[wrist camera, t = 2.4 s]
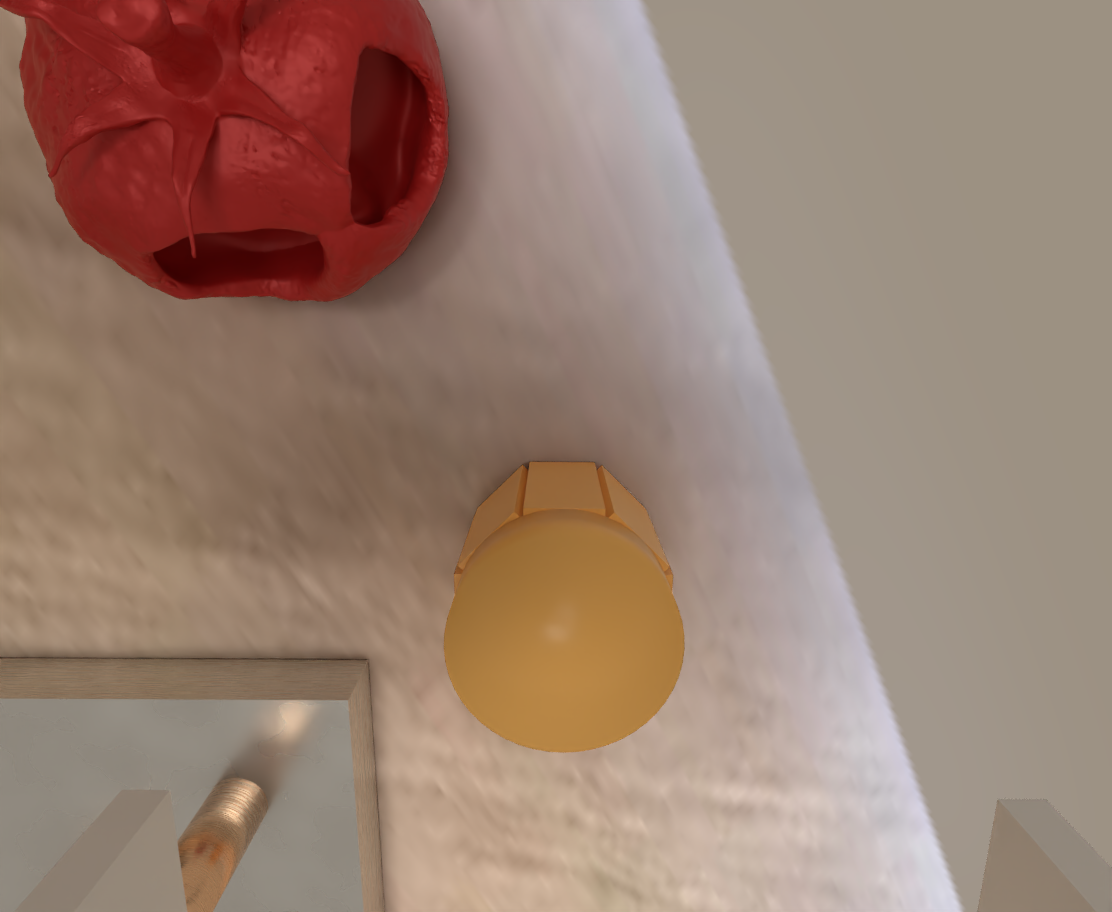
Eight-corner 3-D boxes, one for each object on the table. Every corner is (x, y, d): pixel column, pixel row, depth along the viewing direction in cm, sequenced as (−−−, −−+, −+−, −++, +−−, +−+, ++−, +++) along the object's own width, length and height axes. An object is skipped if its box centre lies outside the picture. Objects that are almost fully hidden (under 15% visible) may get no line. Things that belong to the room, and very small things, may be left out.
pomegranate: (75, 101, 21) (-314, -50, 12) (328, -125, 19) (110, -502, 10) (286, 370, 22) (93, 421, 13) (533, 182, 21) (505, 95, 12)
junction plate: (-129, 657, 25) (-387, 797, 18) (368, 659, 25) (298, 800, 18) (-45, 981, 28) (-232, 1200, 22) (389, 983, 28) (337, 1201, 22)
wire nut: (473, 461, 23) (439, 533, 16) (650, 462, 23) (690, 535, 16) (477, 623, 24) (447, 751, 18) (644, 624, 25) (678, 753, 18)
